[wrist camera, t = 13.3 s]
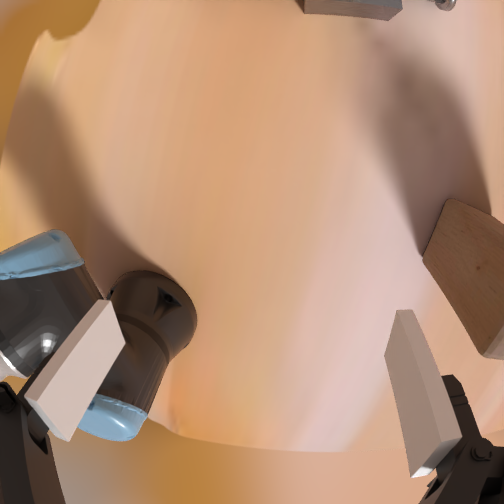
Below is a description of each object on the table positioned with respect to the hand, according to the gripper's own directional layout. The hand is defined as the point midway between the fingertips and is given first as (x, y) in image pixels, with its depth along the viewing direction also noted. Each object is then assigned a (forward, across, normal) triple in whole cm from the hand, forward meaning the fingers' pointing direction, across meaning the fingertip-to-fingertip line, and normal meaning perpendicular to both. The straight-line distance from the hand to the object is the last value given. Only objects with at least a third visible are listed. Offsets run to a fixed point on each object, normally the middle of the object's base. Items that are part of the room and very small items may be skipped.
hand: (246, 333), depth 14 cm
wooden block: (+27, +26, -7) cm, 38 cm away
